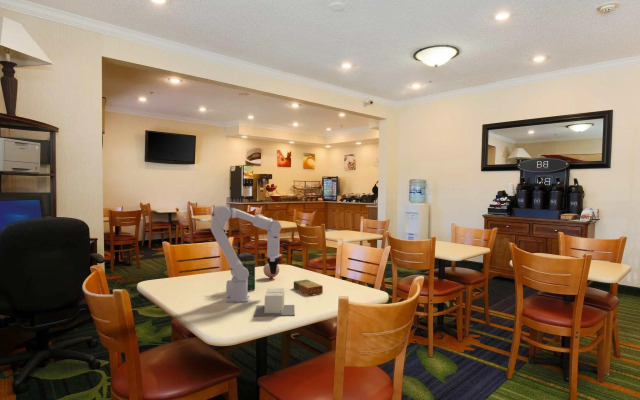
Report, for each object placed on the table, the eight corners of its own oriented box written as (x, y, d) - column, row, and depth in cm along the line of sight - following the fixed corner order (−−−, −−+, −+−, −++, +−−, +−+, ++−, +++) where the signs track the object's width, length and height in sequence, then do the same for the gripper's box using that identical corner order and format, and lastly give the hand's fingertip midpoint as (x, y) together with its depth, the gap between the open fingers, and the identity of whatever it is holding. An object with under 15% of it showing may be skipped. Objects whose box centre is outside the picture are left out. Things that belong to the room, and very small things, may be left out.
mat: (254, 316, 143) (254, 315, 143) (257, 306, 156) (257, 305, 156) (294, 315, 144) (294, 314, 144) (294, 305, 157) (294, 304, 157)
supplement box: (284, 287, 157) (283, 295, 145) (284, 304, 157) (282, 314, 145) (267, 287, 157) (264, 295, 144) (267, 304, 157) (264, 314, 144)
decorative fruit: (260, 279, 205) (260, 261, 205) (267, 276, 213) (267, 259, 213) (274, 281, 202) (274, 263, 202) (281, 277, 209) (281, 260, 209)
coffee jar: (257, 290, 181) (257, 253, 181) (241, 292, 177) (241, 254, 177) (251, 286, 190) (251, 251, 189) (236, 288, 186) (236, 252, 186)
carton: (308, 296, 173) (308, 287, 173) (293, 289, 187) (293, 280, 187) (322, 294, 177) (322, 285, 177) (307, 286, 191) (307, 278, 191)
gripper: (281, 247, 165) (281, 277, 166) (282, 243, 180) (282, 270, 180) (265, 247, 165) (265, 277, 165) (267, 243, 179) (267, 270, 180)
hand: (273, 273), depth 173 cm, fingers closed
